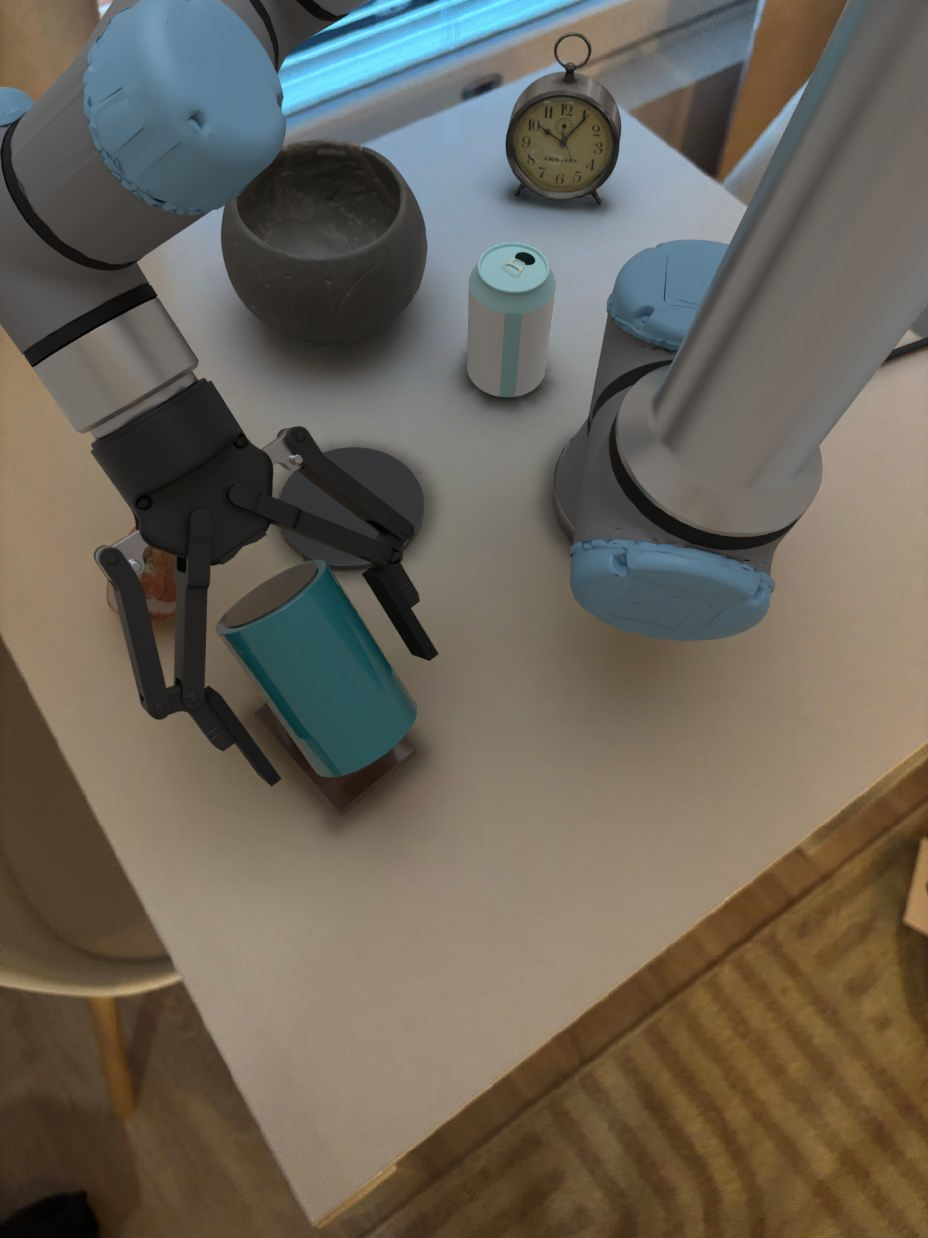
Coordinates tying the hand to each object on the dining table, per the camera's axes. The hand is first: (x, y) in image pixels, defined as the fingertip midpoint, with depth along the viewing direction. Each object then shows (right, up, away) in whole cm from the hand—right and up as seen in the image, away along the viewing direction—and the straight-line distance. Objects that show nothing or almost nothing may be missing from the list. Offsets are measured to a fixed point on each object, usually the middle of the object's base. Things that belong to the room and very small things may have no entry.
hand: (350, 713), depth 59 cm
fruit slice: (-17, +8, +15) cm, 24 cm away
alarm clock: (+17, +50, +39) cm, 65 cm away
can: (+11, +28, +27) cm, 40 cm away
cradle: (-2, -3, +9) cm, 10 cm away
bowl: (-5, +35, +30) cm, 47 cm away
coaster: (-2, +15, +19) cm, 24 cm away
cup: (-2, +3, -1) cm, 4 cm away
